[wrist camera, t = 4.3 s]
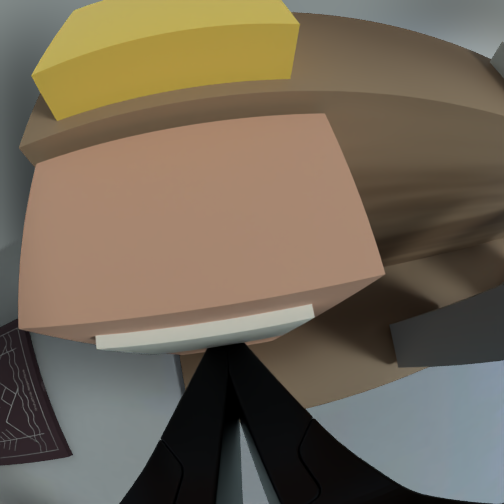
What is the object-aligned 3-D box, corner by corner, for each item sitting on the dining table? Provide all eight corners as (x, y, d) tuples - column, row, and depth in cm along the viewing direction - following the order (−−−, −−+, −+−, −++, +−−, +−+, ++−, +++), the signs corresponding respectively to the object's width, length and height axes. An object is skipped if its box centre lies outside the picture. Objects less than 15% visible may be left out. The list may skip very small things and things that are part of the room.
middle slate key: (455, 346, 14) (623, 299, 3) (398, 371, 14) (598, 347, 3) (446, 305, 15) (606, 228, 4) (389, 324, 15) (580, 246, 4)
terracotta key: (273, 344, 14) (390, 290, 3) (183, 358, 14) (19, 345, 3) (263, 292, 15) (324, 113, 4) (175, 306, 15) (36, 163, 4)
